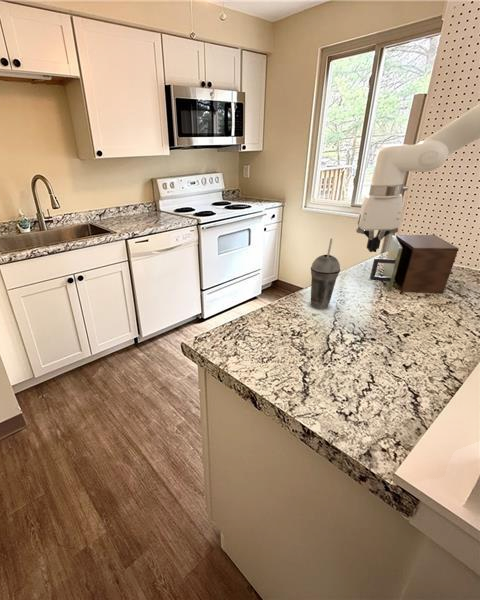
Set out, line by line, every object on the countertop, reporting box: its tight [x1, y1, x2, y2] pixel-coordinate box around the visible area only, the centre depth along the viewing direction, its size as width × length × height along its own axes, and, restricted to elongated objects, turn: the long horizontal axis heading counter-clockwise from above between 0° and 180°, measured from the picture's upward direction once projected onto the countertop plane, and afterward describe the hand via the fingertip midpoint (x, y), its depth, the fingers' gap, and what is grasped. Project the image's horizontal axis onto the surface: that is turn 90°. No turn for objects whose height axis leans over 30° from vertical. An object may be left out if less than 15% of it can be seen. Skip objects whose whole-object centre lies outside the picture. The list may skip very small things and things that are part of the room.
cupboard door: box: [369, 235, 403, 292], centre depth 100 cm, size 6×15×14 cm, turn 151°
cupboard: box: [393, 234, 459, 294], centre depth 96 cm, size 10×15×14 cm
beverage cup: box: [310, 238, 341, 310], centre depth 87 cm, size 7×7×20 cm
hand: (371, 250), depth 99 cm, fingers closed
